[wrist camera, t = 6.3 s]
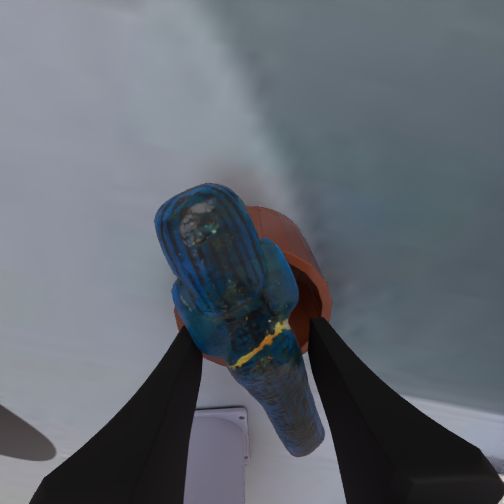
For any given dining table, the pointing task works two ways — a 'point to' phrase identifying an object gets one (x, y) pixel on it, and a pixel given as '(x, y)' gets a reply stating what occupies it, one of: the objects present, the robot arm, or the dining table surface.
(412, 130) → the dining table surface
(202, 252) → the figurine
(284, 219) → the cup
